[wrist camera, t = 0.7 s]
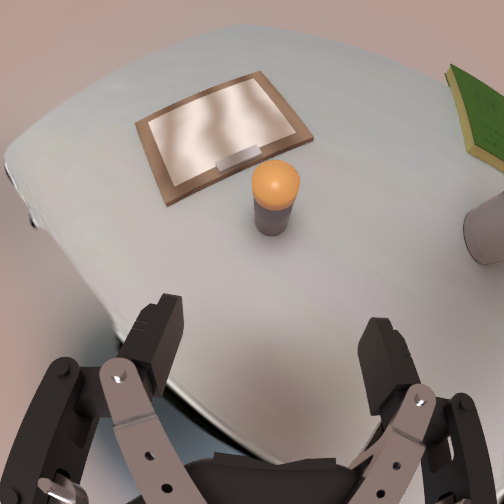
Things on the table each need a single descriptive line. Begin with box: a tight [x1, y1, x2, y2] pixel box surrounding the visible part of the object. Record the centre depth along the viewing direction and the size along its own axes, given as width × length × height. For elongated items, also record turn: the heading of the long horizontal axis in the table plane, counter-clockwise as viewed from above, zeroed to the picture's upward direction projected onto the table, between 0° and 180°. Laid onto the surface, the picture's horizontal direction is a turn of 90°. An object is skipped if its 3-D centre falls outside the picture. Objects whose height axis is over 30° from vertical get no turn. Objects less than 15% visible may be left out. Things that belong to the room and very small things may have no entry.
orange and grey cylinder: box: [252, 160, 300, 236], centre depth 29 cm, size 4×4×11 cm
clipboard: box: [135, 71, 314, 206], centre depth 37 cm, size 22×16×2 cm
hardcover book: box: [444, 64, 504, 173], centre depth 37 cm, size 25×19×4 cm
